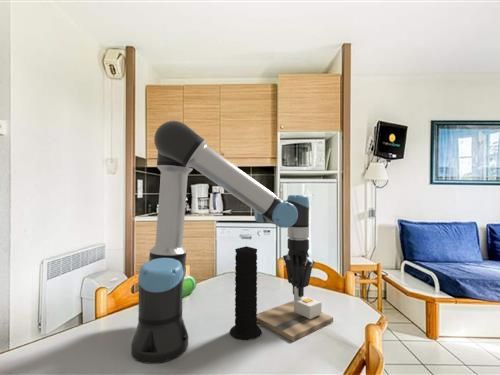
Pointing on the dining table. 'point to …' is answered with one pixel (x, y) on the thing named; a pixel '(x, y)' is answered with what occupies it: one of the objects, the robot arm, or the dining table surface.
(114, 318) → the dining table surface
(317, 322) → the subfloor panel
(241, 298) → the handle grip
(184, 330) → the robot arm
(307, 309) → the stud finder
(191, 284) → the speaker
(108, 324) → the dining table surface
